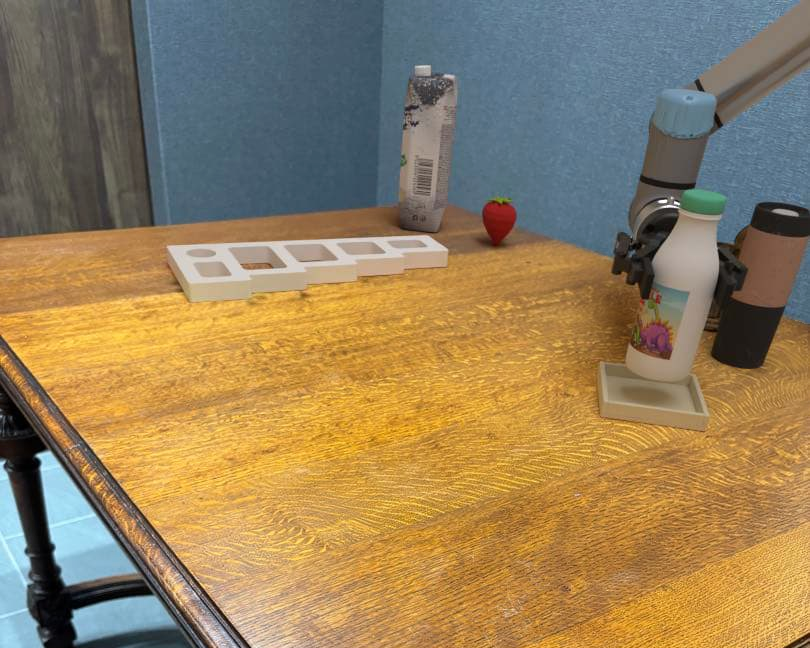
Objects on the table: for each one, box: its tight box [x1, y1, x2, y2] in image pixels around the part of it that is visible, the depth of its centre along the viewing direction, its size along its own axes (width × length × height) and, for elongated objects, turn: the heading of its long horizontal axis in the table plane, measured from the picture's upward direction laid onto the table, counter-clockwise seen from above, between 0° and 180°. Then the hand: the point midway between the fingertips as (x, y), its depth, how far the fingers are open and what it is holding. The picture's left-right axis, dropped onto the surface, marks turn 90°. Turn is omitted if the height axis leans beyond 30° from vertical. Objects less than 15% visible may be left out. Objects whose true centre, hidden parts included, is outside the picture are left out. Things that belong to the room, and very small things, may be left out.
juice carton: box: [397, 65, 458, 233], centre depth 150 cm, size 9×10×27 cm
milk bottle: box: [624, 188, 728, 382], centre depth 92 cm, size 8×8×20 cm
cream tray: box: [596, 360, 711, 432], centre depth 99 cm, size 12×12×2 cm
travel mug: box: [710, 201, 810, 369], centre depth 108 cm, size 8×8×20 cm
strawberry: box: [481, 187, 518, 246], centre depth 148 cm, size 6×8×10 cm
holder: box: [166, 234, 450, 303], centre depth 129 cm, size 45×18×3 cm, turn 113°
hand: (687, 292), depth 87 cm, fingers closed on milk bottle, 8 cm apart
